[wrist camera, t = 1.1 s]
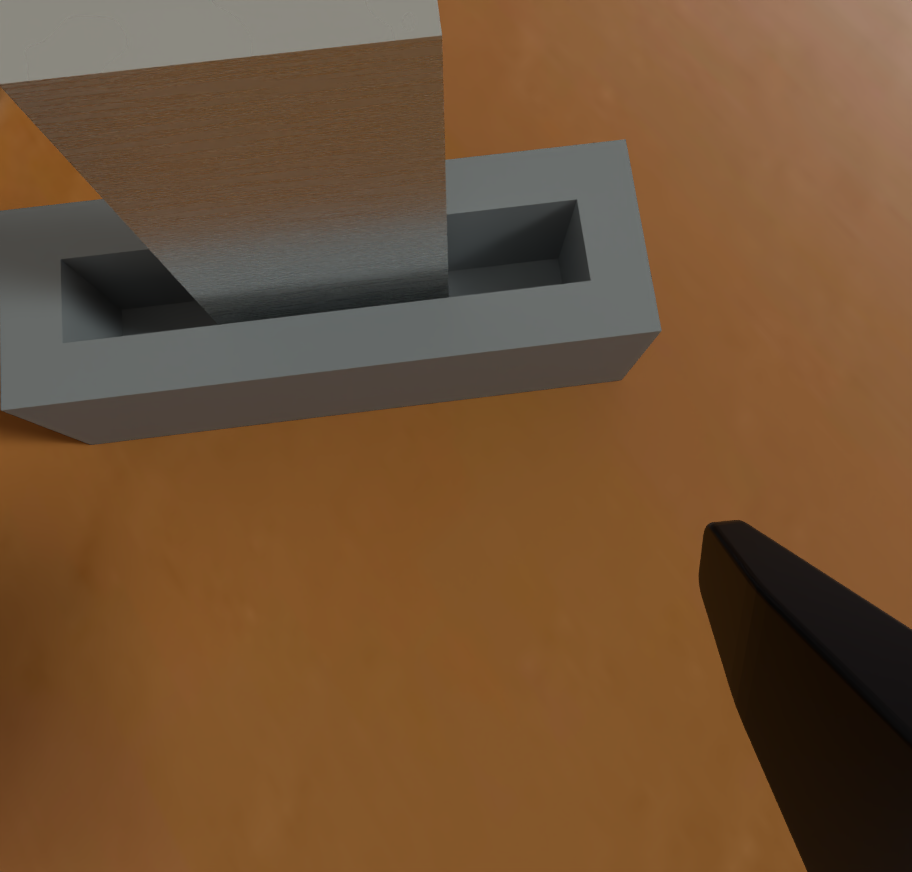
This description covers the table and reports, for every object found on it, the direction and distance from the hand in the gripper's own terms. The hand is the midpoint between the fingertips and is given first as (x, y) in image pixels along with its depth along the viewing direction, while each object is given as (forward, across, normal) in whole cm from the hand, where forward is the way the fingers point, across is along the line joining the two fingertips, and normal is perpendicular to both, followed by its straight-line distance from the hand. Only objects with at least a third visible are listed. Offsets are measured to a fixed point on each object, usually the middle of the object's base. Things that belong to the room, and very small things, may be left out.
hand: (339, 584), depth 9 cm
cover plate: (+14, +1, +2) cm, 14 cm away
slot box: (+15, +1, +3) cm, 15 cm away
